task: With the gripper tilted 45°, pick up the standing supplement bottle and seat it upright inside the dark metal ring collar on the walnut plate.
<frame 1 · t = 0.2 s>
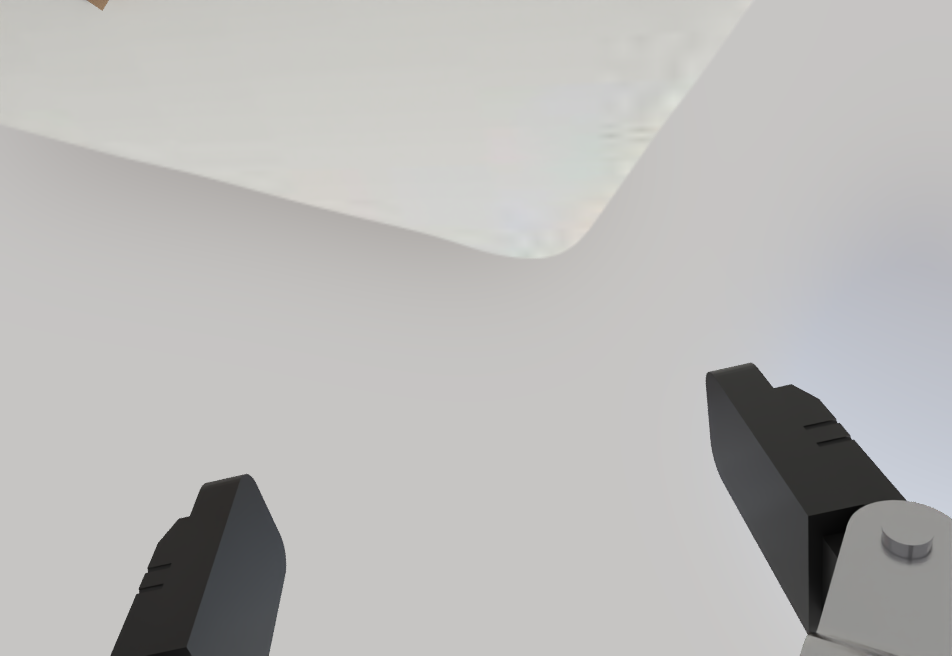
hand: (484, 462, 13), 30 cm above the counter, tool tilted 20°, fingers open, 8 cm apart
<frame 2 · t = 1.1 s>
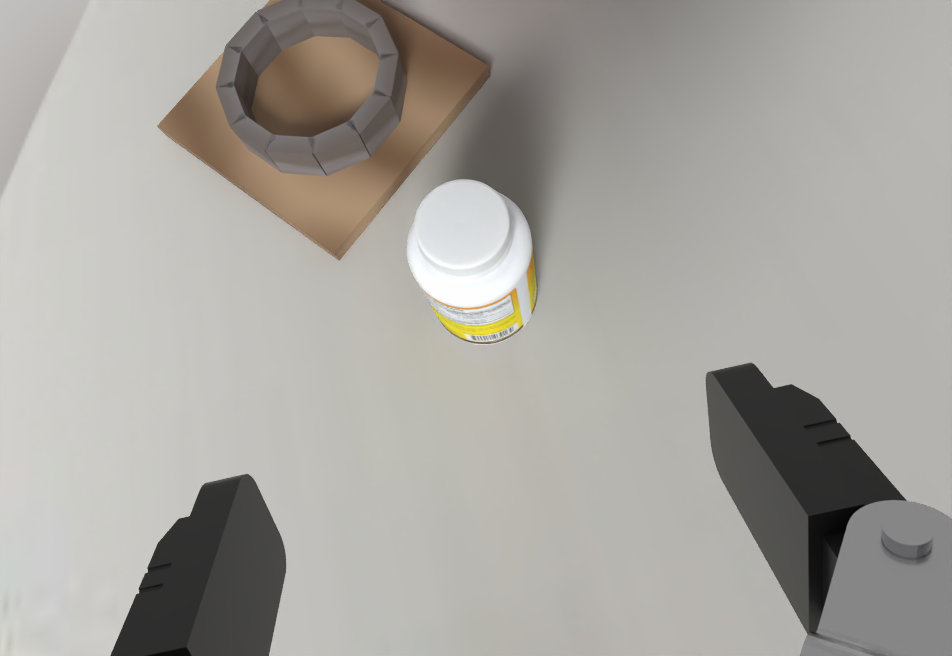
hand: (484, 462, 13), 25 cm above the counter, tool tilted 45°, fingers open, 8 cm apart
supplement bottle: (486, 299, 40), on the counter
ring collar: (325, 105, 44), on the counter
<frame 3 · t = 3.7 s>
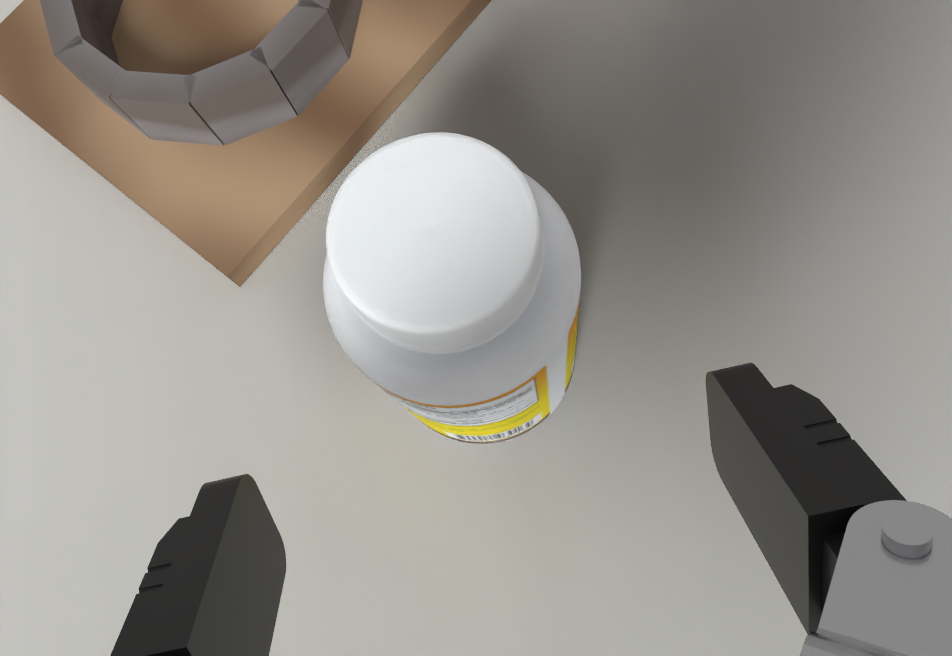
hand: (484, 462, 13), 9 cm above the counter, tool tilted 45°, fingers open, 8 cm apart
supplement bottle: (484, 359, 23), on the counter
ring collar: (233, 35, 27), on the counter
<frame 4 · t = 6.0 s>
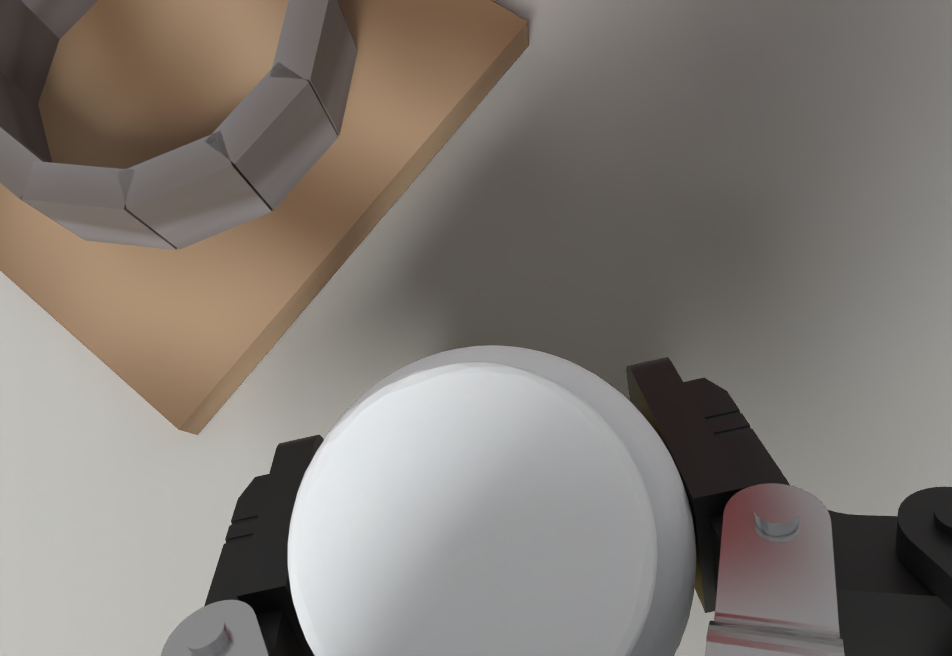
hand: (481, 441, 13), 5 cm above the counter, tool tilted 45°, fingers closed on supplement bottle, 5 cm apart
supplement bottle: (517, 540, 18), on the counter, touching gripper
ring collar: (194, 100, 22), on the counter
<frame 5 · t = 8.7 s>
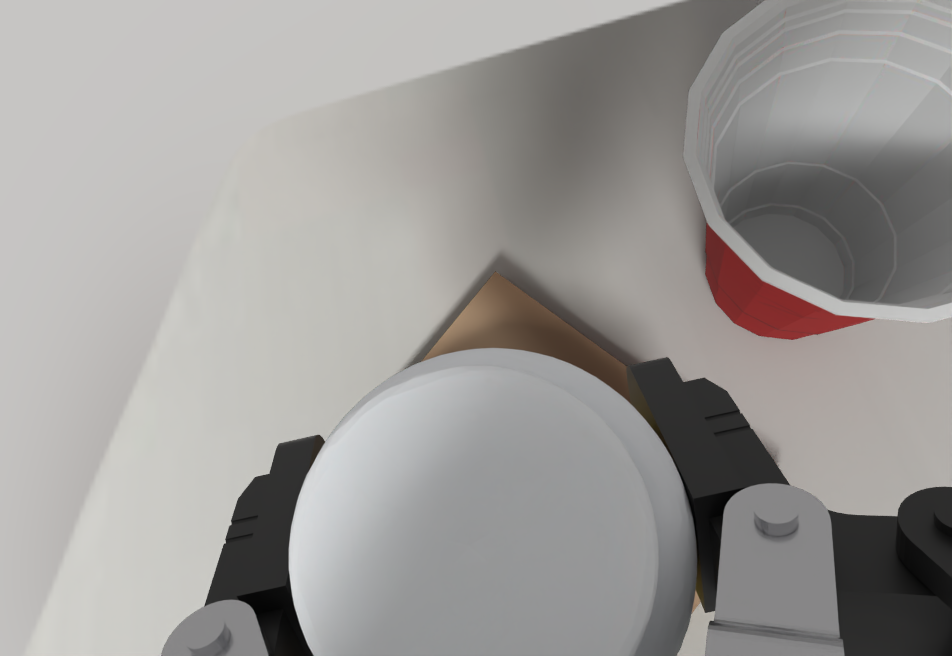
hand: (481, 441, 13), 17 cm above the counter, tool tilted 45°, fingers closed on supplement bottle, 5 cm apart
plastic cup: (768, 276, 31), on the counter
supplement bottle: (517, 542, 18), point 12 cm above the counter, touching gripper
ring collar: (525, 511, 30), on the counter
when the fingers open (7 cm above the counter, at t = 11.2 s): supplement bottle drops 1 cm, resting on ring collar.
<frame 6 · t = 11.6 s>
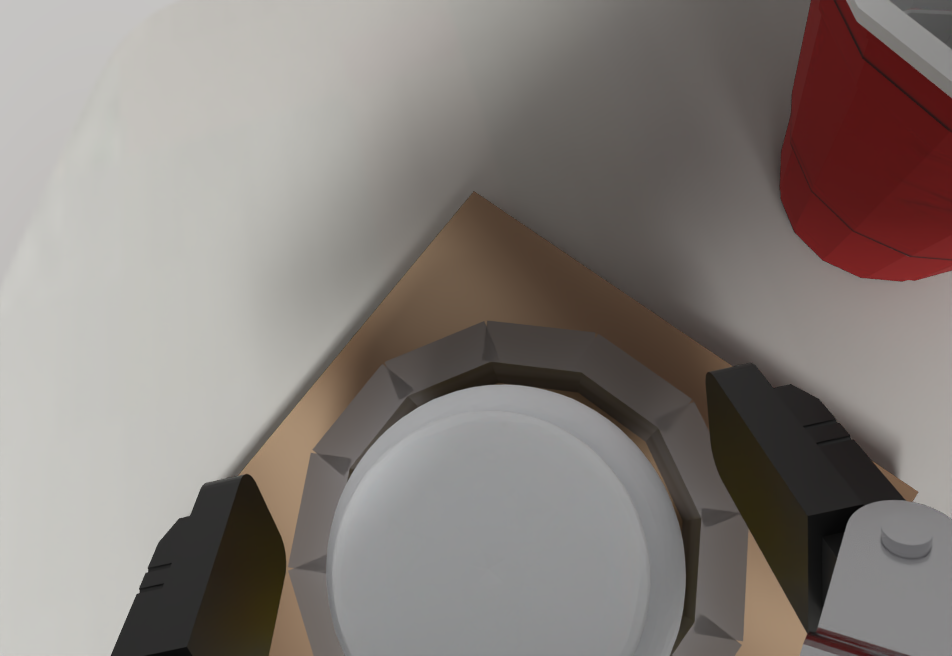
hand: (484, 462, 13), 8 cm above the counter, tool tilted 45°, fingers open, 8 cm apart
plastic cup: (869, 194, 22), on the counter
supplement bottle: (522, 549, 19), point 1 cm above the counter, touching ring collar
ring collar: (520, 541, 20), on the counter
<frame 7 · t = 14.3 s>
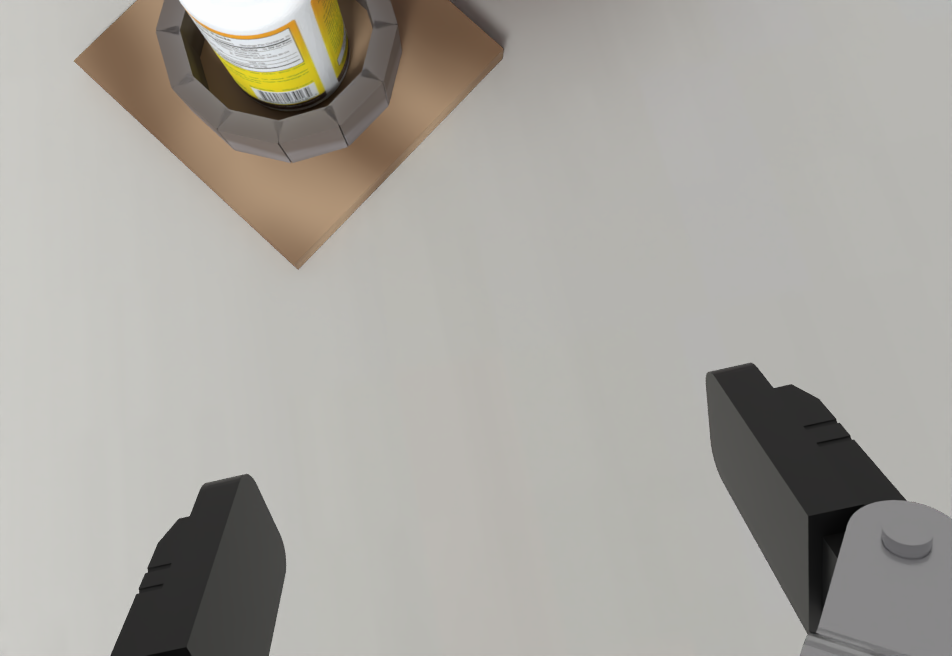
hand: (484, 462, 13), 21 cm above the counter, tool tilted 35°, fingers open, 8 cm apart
supplement bottle: (292, 60, 35), point 1 cm above the counter, touching ring collar
ring collar: (294, 64, 35), on the counter
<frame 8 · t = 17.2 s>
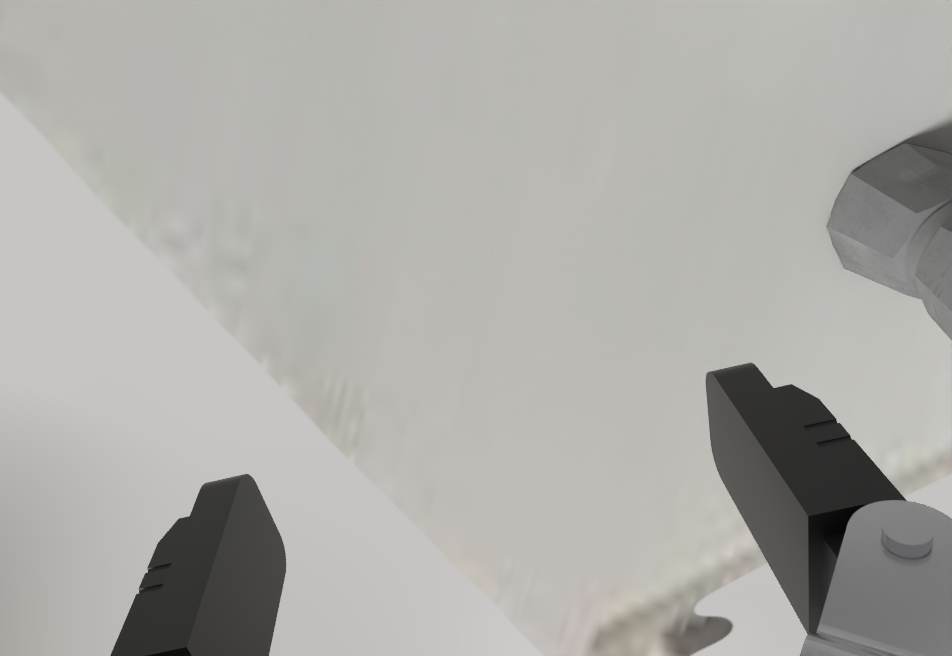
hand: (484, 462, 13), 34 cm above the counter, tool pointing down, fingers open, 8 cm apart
coffeepot: (903, 219, 49), on the counter
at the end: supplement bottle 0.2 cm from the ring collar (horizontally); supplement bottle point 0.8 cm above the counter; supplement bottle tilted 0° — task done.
